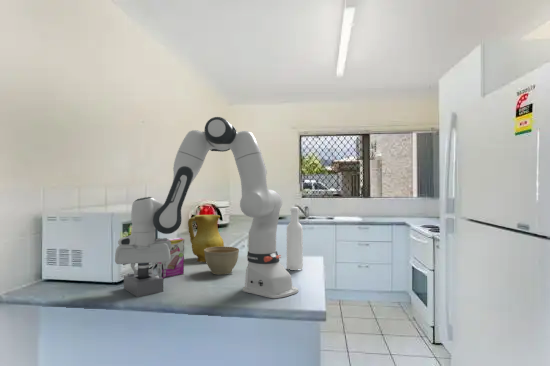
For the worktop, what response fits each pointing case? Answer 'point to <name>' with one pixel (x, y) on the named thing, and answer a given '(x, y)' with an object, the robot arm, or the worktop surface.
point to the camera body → (143, 284)
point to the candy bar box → (173, 260)
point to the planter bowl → (221, 259)
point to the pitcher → (204, 234)
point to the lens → (143, 270)
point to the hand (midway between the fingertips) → (143, 274)
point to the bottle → (294, 242)
